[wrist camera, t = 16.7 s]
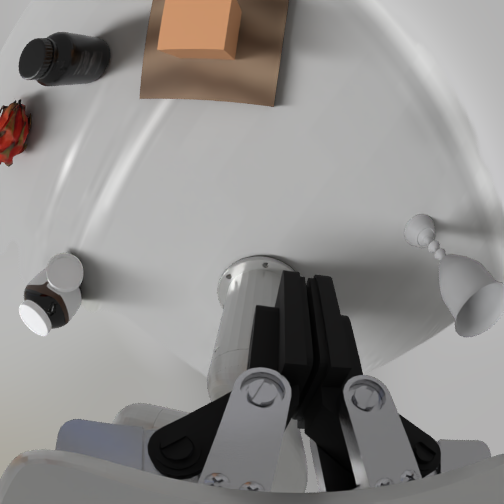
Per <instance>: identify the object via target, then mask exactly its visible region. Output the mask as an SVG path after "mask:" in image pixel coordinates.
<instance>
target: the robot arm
mask: <svg viewBox="0 0 504 504" xmlns="http://www.w3.org/2000/svg"><path fill="white" fill-rule="evenodd" d="M217 294H218V300H219V302H220V305H221V307H222V308H223V314H222V318H221V322H220V326H219V330H218V335H217V339H216V343H215V347H214V351H213V356H212V360H211V364H210V368H209V372H208V377H207V389H208V393H209V397H210V400H211V403H209V404H207V405H205V406H203V407H201V408H199V409H198V410H196V411H194V412H192V413H188V412H183V411H179V410H174V409H170V408H165V407H161V406H156V405H151V404H144V403H138V404H132V405H128V406H126V407H125V408H123V409H122V410H121V411H120V412H119V413H118V414H117V416H116V417H115V419H114V421H113V423H112V424H109V423H102V422H95V421H88V420H81V419H73V420H70V421H68V422H66V423H65V424H64V425H63V426H62V427H61V428H60V430H59V433H58V437H57V443H56V449H55V450H32V451H27V452H24V453H21V454H20V455H18V456H17V457H16V458H15V459H14V460H13V461H12V462H11V463H10V464H9V466H8V467H7V469H6V470H5V472H4V473H3V475H2V477H1V479H0V504H504V454H501V455H497V456H494V457H491V454H490V450H489V448H488V446H487V445H486V444H485V443H484V442H482V441H478V440H470V441H469V440H442V439H440V440H439V441H438V442H436V441H435V440H434V439H433V438H432V437H431V436H429V435H428V434H426V433H425V432H423V431H422V430H420V429H419V428H418V427H416V426H415V425H414V424H412V423H411V422H409V421H408V420H407V419H405V418H404V417H402V416H401V415H399V414H398V412H397V409H396V407H395V404H394V402H393V399H392V397H391V395H390V392H389V391H388V389H387V387H386V386H385V385H384V384H383V383H382V382H381V381H380V380H378V379H376V378H375V377H372V376H368V375H363V373H362V368H361V364H360V359H359V355H358V351H357V346H356V342H355V338H354V334H353V330H352V326H351V322H350V319H349V317H348V316H344V315H341V314H340V310H339V306H338V302H337V297H336V293H335V289H334V285H333V281H332V278H331V277H329V276H322V275H315V276H314V278H308V281H307V284H306V283H305V278H304V277H300V274H299V272H295V271H294V270H293V269H292V268H291V267H290V266H288V265H287V264H285V263H283V262H282V261H279V260H277V259H274V258H269V257H260V256H255V257H248V258H245V259H242V260H239V261H237V262H235V263H233V264H232V265H231V266H229V267H228V268H227V269H226V270H225V272H224V273H223V274H222V276H221V278H220V281H219V284H218V291H217ZM300 429H305V434H306V435H308V436H309V437H310V447H311V452H312V457H313V462H314V467H315V473H316V478H317V483H318V488H319V493H305V490H306V486H307V479H308V468H307V461H306V455H305V451H304V446H303V441H302V437H301V432H300Z"/></svg>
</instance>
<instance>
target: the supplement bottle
mask: <svg viewBox="0 0 504 504" xmlns="http://www.w3.org/2000/svg"><path fill="white" fill-rule="evenodd" d="M109 60H110V50H109V47H108V45H107V43H106V42H105V41H104V40H102V39H100V38H96V37H91V36H85V35H80V34H74V33H67V32H57V33H54V34H52V35H50V36H49V37H47V38H37V39H34V40H32V41H31V42H29V43H28V44H27V45H26V47H25V48H24V50H23V51H22V54H21V57H20V60H19V73H20V75H21V76H22V78H24V79H26V80H36V81H37V82H38V83H40V84H41V85H43V86H59V85H73V84H87V83H91V82H93V81H95V80H97V79H98V78H99V77H100V76H101V75H102V74H103V73H104V72H105V70H106V68H107V66H108V64H109Z"/></svg>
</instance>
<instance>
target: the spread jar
mask: <svg viewBox="0 0 504 504" xmlns="http://www.w3.org/2000/svg"><path fill="white" fill-rule="evenodd" d="M82 280H83V266H82V263H81V262H80V260H79V259H78V258H77V257H76V256H74V255H72V254H69V253H60V254H57V255H55V256H54V257H53V258H52V259H51V260H50V261H49V263H48V265H47V268H46V269H44V270H43V271H41V272H40V273H38V274H37V275H36V276H35V277H34V278H33V279H32V280H31V281H30V282H29V284H28V285H27V286H26V288H25V291H24V302H23V303H22V304H21V305H20V306H19V313H20V316H21V318H22V320H23V321H24V323H25V324H26V325H27V326H28V328H30V329H31V330H32V331H33V332H34V333H36V334H38V335H40V336H46V335H47V334H48V333H49V331H50V330H51V329H54V328H59V327H62V326H64V325H65V324H67V323H68V322H69V321H70V320H71V318H72V317H73V316H74V315H75V313H76V312H77V310H78V309H79V307H80V305H81V302H82V293H81V288H80V284H81V282H82Z"/></svg>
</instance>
